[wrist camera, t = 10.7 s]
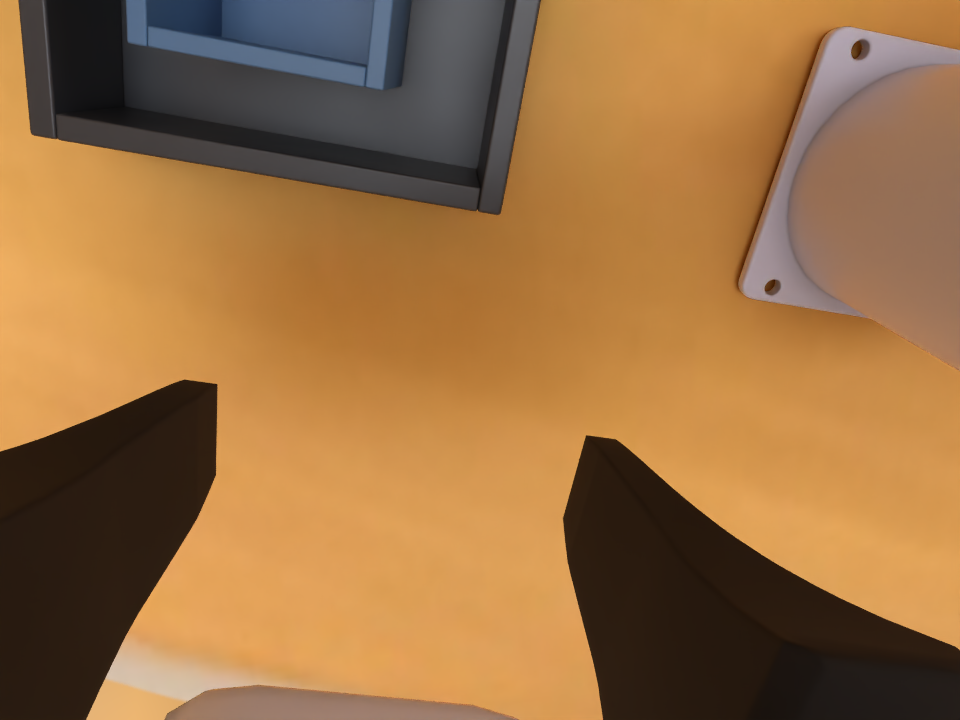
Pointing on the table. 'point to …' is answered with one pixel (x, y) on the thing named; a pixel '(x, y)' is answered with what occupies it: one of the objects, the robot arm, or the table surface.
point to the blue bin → (283, 35)
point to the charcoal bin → (295, 102)
